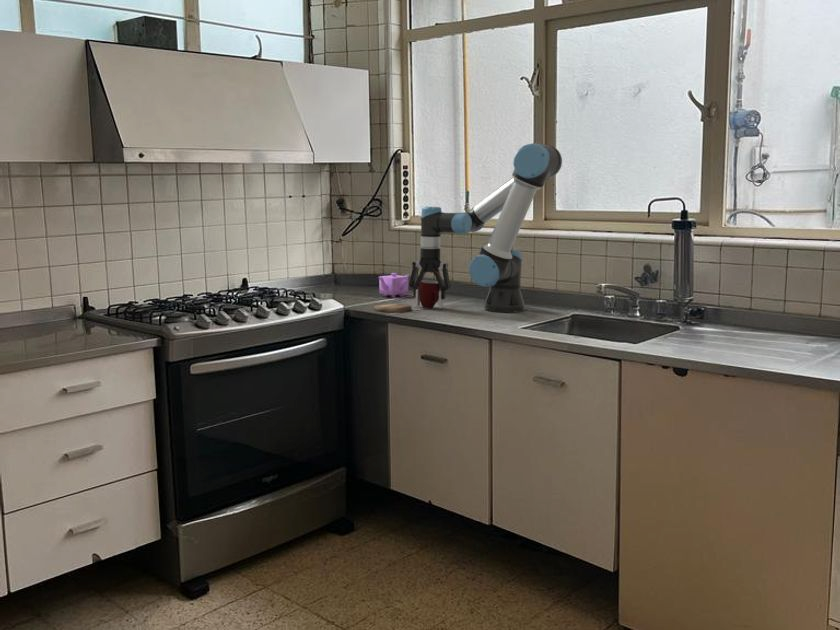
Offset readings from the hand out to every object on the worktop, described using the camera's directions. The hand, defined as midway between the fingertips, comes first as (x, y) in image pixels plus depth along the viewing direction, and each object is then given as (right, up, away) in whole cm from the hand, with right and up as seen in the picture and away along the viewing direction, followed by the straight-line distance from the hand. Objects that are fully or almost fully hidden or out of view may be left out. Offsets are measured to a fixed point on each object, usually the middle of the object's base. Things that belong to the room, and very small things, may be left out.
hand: (429, 306), depth 330 cm
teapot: (-14, +4, +32) cm, 35 cm away
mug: (0, -1, 0) cm, 1 cm away
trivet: (-14, -1, -5) cm, 15 cm away
